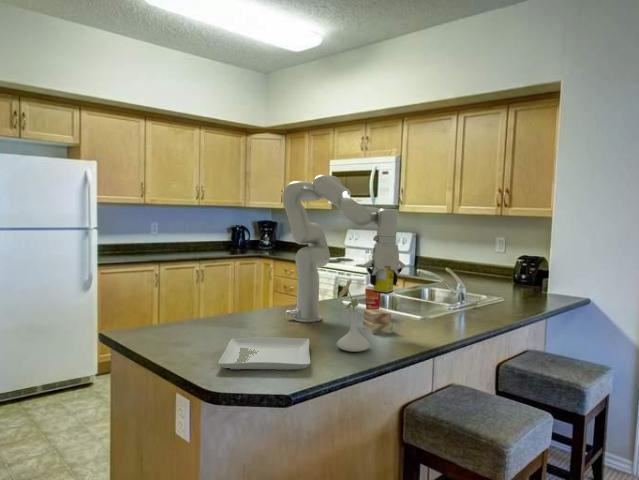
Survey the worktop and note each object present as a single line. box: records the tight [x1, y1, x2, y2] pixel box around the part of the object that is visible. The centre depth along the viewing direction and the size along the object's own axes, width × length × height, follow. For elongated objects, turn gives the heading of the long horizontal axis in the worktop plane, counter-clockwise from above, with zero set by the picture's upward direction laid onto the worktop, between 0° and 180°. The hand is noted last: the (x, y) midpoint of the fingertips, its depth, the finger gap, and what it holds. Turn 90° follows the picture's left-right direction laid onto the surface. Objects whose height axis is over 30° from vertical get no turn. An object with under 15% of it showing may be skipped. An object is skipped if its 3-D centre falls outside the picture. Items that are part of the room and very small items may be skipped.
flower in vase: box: [336, 278, 371, 353], centre depth 162 cm, size 13×11×25 cm
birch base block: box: [362, 318, 394, 335], centre depth 190 cm, size 9×9×4 cm
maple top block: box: [363, 308, 392, 324], centre depth 190 cm, size 8×8×4 cm
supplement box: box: [373, 266, 394, 295], centre depth 185 cm, size 6×6×11 cm
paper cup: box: [364, 283, 382, 310], centre depth 216 cm, size 8×8×14 cm
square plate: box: [217, 337, 311, 370], centre depth 152 cm, size 27×27×4 cm
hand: (383, 284), depth 185 cm, fingers closed on supplement box, 8 cm apart
